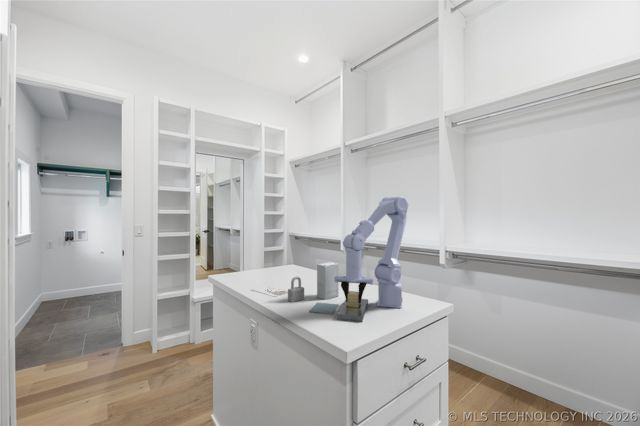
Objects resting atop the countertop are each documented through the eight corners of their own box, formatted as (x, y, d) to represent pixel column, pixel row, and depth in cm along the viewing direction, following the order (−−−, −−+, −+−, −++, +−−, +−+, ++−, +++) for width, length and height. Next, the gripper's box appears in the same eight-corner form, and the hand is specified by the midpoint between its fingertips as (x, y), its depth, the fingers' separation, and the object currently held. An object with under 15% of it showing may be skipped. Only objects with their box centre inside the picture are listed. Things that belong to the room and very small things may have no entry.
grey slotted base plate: (368, 304, 116) (368, 299, 116) (362, 321, 97) (362, 316, 97) (346, 302, 118) (346, 297, 119) (336, 319, 99) (336, 313, 99)
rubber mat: (338, 305, 115) (338, 304, 115) (332, 314, 104) (332, 313, 104) (317, 303, 117) (317, 302, 117) (308, 312, 107) (308, 311, 107)
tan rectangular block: (359, 310, 109) (359, 291, 109) (358, 313, 105) (358, 294, 105) (349, 309, 110) (349, 291, 110) (347, 312, 106) (347, 293, 106)
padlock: (299, 297, 126) (299, 274, 126) (305, 299, 124) (305, 276, 124) (286, 300, 121) (286, 277, 121) (293, 302, 118) (293, 278, 118)
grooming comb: (291, 292, 134) (290, 291, 134) (274, 297, 127) (274, 296, 127) (265, 286, 146) (265, 285, 146) (249, 291, 138) (249, 289, 138)
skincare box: (330, 293, 132) (330, 261, 132) (339, 296, 127) (339, 263, 127) (316, 297, 126) (316, 263, 127) (325, 300, 122) (325, 265, 122)
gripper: (332, 267, 106) (332, 303, 106) (372, 269, 102) (372, 307, 102) (336, 263, 113) (336, 298, 113) (373, 265, 109) (373, 301, 109)
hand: (353, 302), depth 108 cm, fingers closed on tan rectangular block, 4 cm apart
